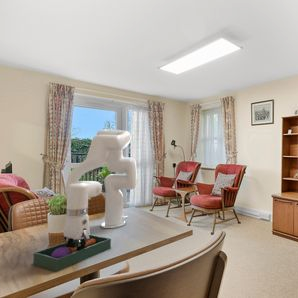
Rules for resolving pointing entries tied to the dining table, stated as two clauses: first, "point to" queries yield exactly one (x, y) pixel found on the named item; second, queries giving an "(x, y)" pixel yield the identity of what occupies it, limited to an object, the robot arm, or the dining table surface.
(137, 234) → the dining table surface
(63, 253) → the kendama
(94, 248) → the tray
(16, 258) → the dining table surface
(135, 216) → the dining table surface
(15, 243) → the dining table surface
